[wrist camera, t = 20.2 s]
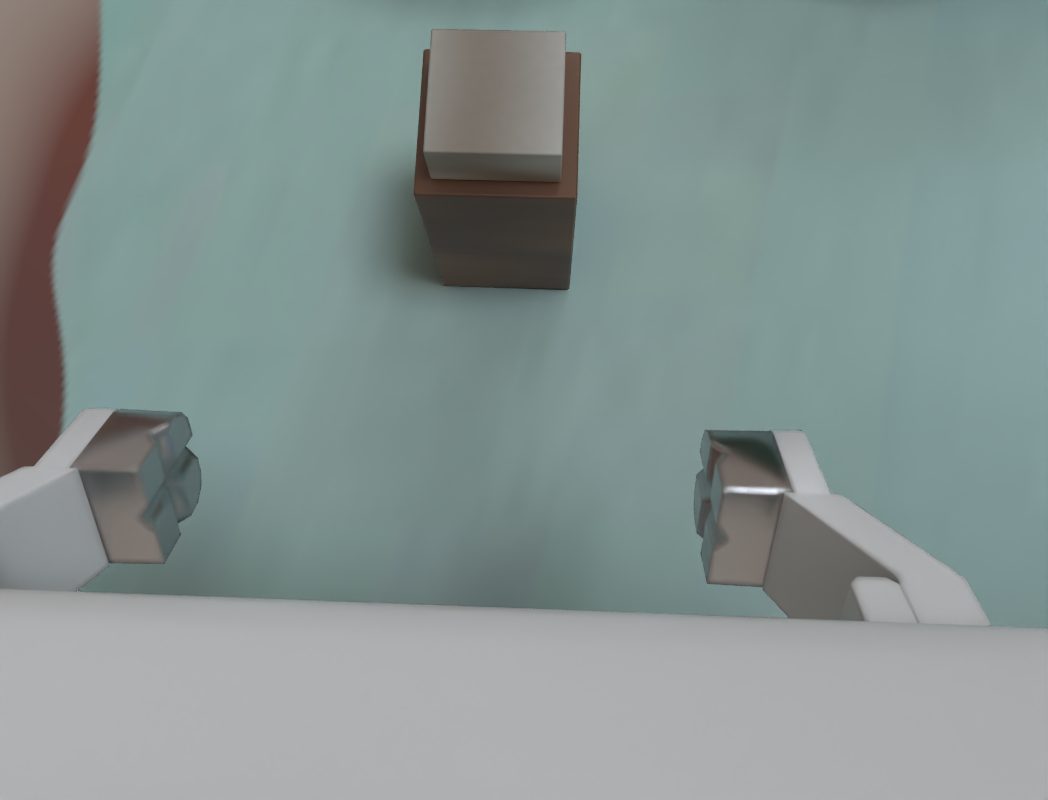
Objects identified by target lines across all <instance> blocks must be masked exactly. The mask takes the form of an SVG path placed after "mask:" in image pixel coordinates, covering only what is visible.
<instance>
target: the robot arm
mask: <svg viewBox="0 0 1048 800" xmlns="http://www.w3.org/2000/svg"><path fill="white" fill-rule="evenodd" d="M191 437H192V431H191V428H190V424H189V420H188V417H186V416H185V415H184V414H183V413H182V412H168V411H149V410H130V409H120V410H119V409H110V408H88V409H85V410H82V411H81V412H80V413H79V414H78V415H77V417H76V418H75V419H74V420H73V421H72V422H71V424H70V425H69V426H68V427H67V428H66V429H65V431H64V432H63V433H62V434H61V435H60V436H59V438H58V439H57V440H56V441H55V442H54V444H53V445H52V446H51V447H50V448H49V449H48V451H47V452H46V453H45V454H44V455H43V456H42V458H41V459H40V460H39V461H38V462H37V464H36V465H35V466H34V467H22V468H20V469H18V470H15V471H13V472H12V473H9V474H7V475H5V476H3V477H0V800H1048V628H1028V627H1002V626H991V624H990V622H989V621H988V619H987V617H986V615H985V613H984V611H983V610H982V608H981V606H980V604H979V602H978V600H977V599H976V597H975V595H974V593H973V591H972V589H971V588H970V586H969V584H968V582H967V580H966V579H965V578H964V577H962V576H961V575H959V574H958V573H956V572H955V571H953V570H952V569H950V568H949V567H947V566H946V565H944V564H943V563H941V562H940V561H938V560H937V559H936V558H934V557H933V556H931V555H930V554H928V553H927V552H925V551H924V550H922V549H921V548H919V547H918V546H916V545H915V544H913V543H912V542H910V541H909V540H907V539H906V538H904V537H903V536H901V535H900V534H898V533H897V532H895V531H894V530H892V529H891V528H889V527H888V526H887V525H885V524H884V523H882V522H881V521H879V520H878V519H876V518H875V517H873V516H872V515H870V514H869V513H867V512H866V511H864V510H863V509H861V508H860V507H858V506H857V505H855V504H854V503H852V502H851V501H849V500H848V499H846V498H845V497H843V496H842V495H840V494H831V492H830V490H829V488H828V485H827V483H826V481H825V478H824V476H823V473H822V471H821V469H820V466H819V464H818V462H817V459H816V457H815V454H814V452H813V450H812V447H811V445H810V443H809V440H808V438H807V435H806V434H805V433H804V432H803V431H801V430H769V431H736V430H705V431H704V434H703V437H702V442H701V448H700V454H701V459H702V464H703V469H702V470H701V471H700V472H699V473H698V474H697V475H696V482H695V490H694V518H695V526H696V531H697V534H698V535H700V536H701V537H702V538H703V541H702V548H701V557H702V562H703V567H704V572H705V577H706V582H707V584H719V585H735V586H751V587H763V591H764V592H765V593H766V594H767V595H768V596H769V597H770V598H771V599H772V600H773V601H774V602H775V603H776V604H777V605H778V606H779V608H780V609H781V610H782V611H783V612H784V613H785V614H786V615H787V616H788V617H789V618H768V617H742V616H716V615H689V614H662V613H635V612H608V611H582V610H555V609H528V608H501V607H474V606H448V605H421V604H394V603H368V602H341V601H315V600H288V599H261V598H235V597H208V596H182V595H155V594H129V593H102V592H75V591H77V590H78V589H79V588H81V587H82V586H83V585H85V584H86V583H87V582H89V581H90V580H91V579H93V578H94V577H95V576H97V575H98V574H99V573H101V572H102V571H103V570H105V569H106V568H108V567H109V563H134V564H165V562H166V560H167V558H168V557H169V555H170V553H171V551H172V549H173V548H174V546H175V544H176V542H177V540H178V539H179V537H180V535H181V533H180V529H179V525H178V523H180V522H181V521H183V520H185V519H186V518H188V517H189V516H191V515H192V513H193V511H194V509H195V507H196V505H197V503H198V500H199V495H200V490H201V469H200V465H199V460H198V458H197V457H196V456H195V455H194V454H193V453H192V452H191V451H190V450H189V449H188V448H187V447H186V445H187V443H188V442H189V440H190V438H191Z"/></svg>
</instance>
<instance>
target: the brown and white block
mask: <svg viewBox="0 0 1048 800" xmlns="http://www.w3.org/2000/svg"><path fill="white" fill-rule="evenodd" d="M580 74H581V54H580V53H571V52H566V33H565V32H558V31H509V30H460V29H432V31H431V43H430V50H429V49H426V50H424V53H423V67H422V81H421V96H420V110H419V124H418V138H417V153H416V167H415V181H414V196H415V199H416V202H417V205H418V208H419V211H420V214H421V217H422V220H423V223H424V226H425V229H426V232H427V235H428V238H429V241H430V244H431V248H432V251H433V254H434V257H435V260H436V263H437V266H438V269H439V272H440V275H441V278H442V281H443V284H444V285H445V286H476V287H511V288H545V289H569V286H570V274H571V263H572V251H573V239H574V228H575V216H576V205H577V183H578V147H579V111H580Z"/></svg>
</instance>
